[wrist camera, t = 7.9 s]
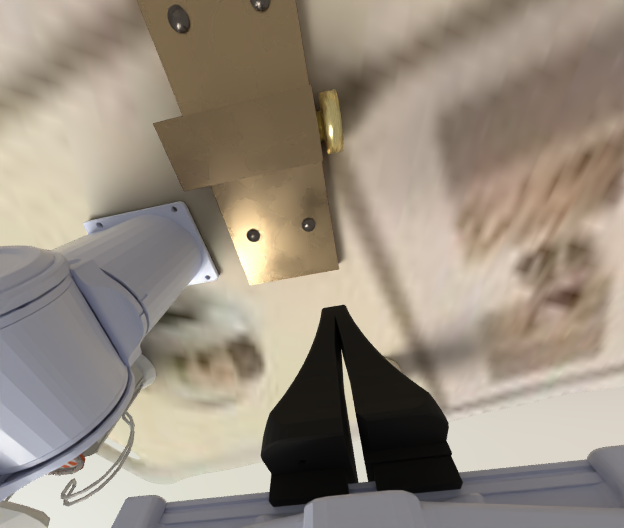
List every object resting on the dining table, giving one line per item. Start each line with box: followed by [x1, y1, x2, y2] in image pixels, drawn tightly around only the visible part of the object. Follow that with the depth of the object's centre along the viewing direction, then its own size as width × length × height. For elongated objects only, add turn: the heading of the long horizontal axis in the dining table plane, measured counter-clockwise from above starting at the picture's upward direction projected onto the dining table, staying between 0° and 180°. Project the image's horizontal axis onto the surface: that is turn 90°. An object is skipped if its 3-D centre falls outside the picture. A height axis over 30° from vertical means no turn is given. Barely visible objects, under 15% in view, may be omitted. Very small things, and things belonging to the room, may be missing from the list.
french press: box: [0, 354, 156, 528], centre depth 19 cm, size 10×12×25 cm
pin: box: [316, 89, 343, 154], centre depth 16 cm, size 10×4×4 cm, turn 101°
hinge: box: [137, 0, 339, 285], centre depth 16 cm, size 10×24×4 cm, turn 11°
